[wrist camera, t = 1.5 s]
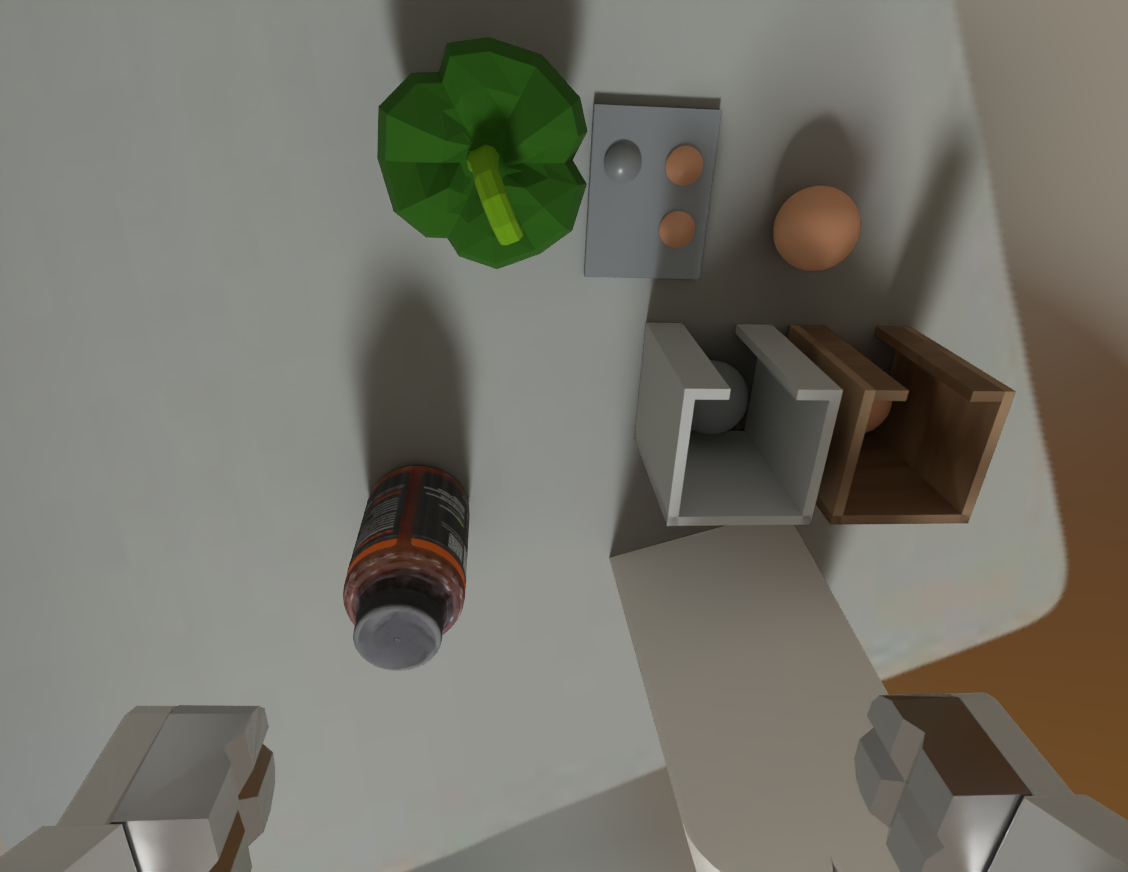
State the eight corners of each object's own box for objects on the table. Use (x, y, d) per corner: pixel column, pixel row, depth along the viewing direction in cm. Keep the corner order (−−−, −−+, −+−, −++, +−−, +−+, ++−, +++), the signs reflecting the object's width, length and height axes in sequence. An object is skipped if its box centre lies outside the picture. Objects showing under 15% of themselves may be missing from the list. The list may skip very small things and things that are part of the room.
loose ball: (769, 178, 35) (799, 190, 32) (846, 181, 35) (885, 193, 32) (756, 259, 37) (783, 279, 33) (829, 261, 37) (864, 281, 34)
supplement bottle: (353, 523, 42) (307, 663, 32) (393, 444, 40) (358, 568, 30) (444, 558, 44) (428, 702, 34) (488, 485, 42) (484, 615, 32)
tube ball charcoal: (670, 349, 39) (687, 376, 35) (740, 350, 39) (765, 377, 36) (662, 414, 41) (677, 447, 37) (730, 415, 41) (751, 447, 37)
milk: (806, 644, 50) (1070, 1135, 27) (649, 686, 50) (775, 1201, 27) (785, 508, 44) (1094, 980, 21) (609, 557, 45) (724, 1066, 22)
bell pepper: (388, 42, 31) (344, 30, 22) (574, 45, 32) (603, 34, 23) (405, 236, 35) (373, 292, 26) (571, 236, 36) (595, 289, 27)
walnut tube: (789, 324, 39) (865, 390, 31) (911, 327, 39) (1016, 391, 31) (767, 438, 42) (830, 524, 34) (880, 438, 42) (968, 523, 35)
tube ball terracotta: (810, 350, 40) (841, 378, 36) (878, 352, 40) (915, 379, 36) (796, 415, 41) (824, 447, 38) (862, 416, 42) (895, 447, 38)
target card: (593, 103, 33) (594, 104, 32) (719, 109, 33) (722, 110, 33) (583, 274, 36) (584, 277, 36) (697, 277, 37) (700, 279, 37)
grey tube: (646, 322, 38) (684, 388, 30) (772, 324, 39) (843, 389, 31) (634, 438, 41) (666, 526, 33) (750, 438, 42) (810, 524, 34)
